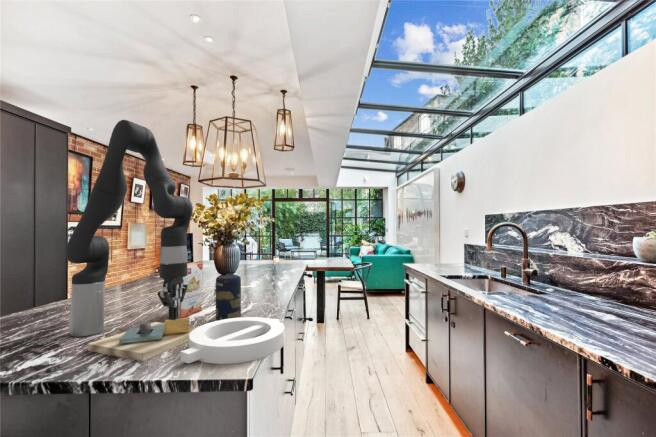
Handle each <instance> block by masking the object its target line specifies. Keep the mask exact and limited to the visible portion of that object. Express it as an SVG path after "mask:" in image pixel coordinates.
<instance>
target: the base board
mask: <svg viewBox="0 0 656 437" xmlns="http://www.w3.org/2000/svg"><path fill="white" fill-rule="evenodd" d="M158 325H165V322H159V321H154V322H149V321H147V322H145V321H144V322H142V323H140V324H139V327H140V334H144V333H151V326H158ZM197 327H198V326H190V325H189V332H183V333H174V334H164V336H163V338H162V339H158V340H149V341H140V342H131V343H122V344H119V339H120V338H121V337H122V336H123V335H124V334H125V333H126V331H124V332H120V333H117V334H115V335H111V336H108V337H105V338H101V339H98V340H95V341H93V342H89V343H87V351H88V352H93V353H97V354H104V355H108V356H114V357H117V358H123V359H124V358H126V359H129V360H134V361H139V362H140V361H141V362H145V361H146V360H147V361H148V360H149V359H151V358H153V357H156V356H159V355H160V354H163V353H165V352H168V351H170V350H172V349H174V348H176V347H178V346H181V345H183V344H185V343H189V334H190V333H191V331H193V330H194V329H195V328H197Z"/></svg>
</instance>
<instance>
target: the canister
mask: <svg viewBox="0 0 656 437" xmlns="http://www.w3.org/2000/svg"><path fill="white" fill-rule="evenodd" d="M241 316H242V278H241V276H240V275H238V274H232V273H227V274H225V275H220V276H217V277H216V279H215V319H216V321H218V320H223V319H230V318H239V317H241Z"/></svg>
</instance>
